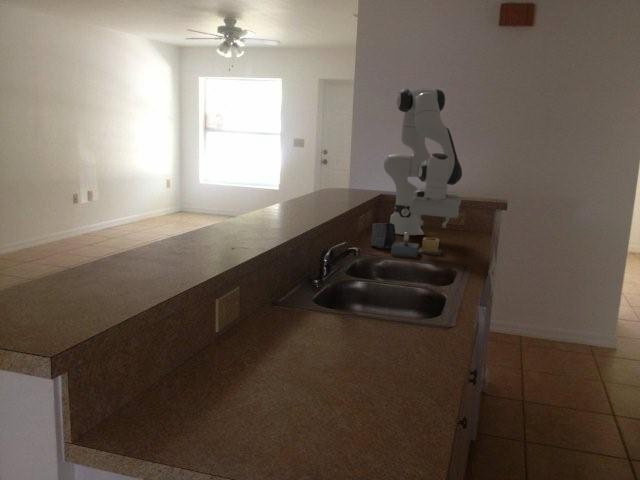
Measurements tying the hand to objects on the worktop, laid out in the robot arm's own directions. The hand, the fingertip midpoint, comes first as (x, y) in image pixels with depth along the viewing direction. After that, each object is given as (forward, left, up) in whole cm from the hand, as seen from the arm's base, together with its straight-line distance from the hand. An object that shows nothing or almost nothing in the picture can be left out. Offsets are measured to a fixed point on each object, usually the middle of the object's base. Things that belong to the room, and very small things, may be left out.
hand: (432, 226), depth 238 cm
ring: (+1, 0, -10) cm, 10 cm away
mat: (+1, 0, -11) cm, 11 cm away
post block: (+11, -9, -11) cm, 18 cm away
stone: (0, -20, -11) cm, 23 cm away
